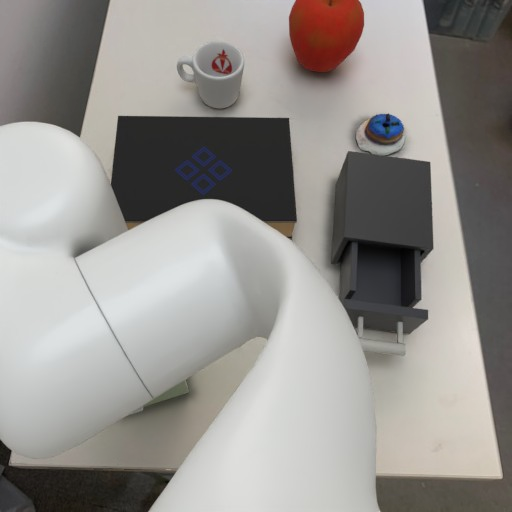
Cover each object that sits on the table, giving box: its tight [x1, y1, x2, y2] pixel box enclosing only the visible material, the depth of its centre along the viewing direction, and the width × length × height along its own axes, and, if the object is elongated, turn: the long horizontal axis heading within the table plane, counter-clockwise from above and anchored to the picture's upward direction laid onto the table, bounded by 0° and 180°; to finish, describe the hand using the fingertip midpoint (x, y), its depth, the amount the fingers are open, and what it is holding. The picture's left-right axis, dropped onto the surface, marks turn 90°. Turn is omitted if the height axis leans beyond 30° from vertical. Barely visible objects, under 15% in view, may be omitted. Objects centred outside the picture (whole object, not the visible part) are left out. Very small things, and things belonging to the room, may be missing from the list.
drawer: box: [339, 240, 429, 357], centre depth 65 cm, size 17×10×7 cm, turn 173°
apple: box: [288, 0, 365, 73], centre depth 80 cm, size 12×12×14 cm
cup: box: [176, 40, 245, 109], centre depth 79 cm, size 11×8×8 cm
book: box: [110, 115, 298, 241], centre depth 71 cm, size 17×25×7 cm
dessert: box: [355, 113, 406, 156], centre depth 80 cm, size 8×7×6 cm
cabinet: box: [330, 150, 435, 266], centre depth 69 cm, size 14×12×9 cm
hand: (130, 341), depth 49 cm, fingers open, 7 cm apart
